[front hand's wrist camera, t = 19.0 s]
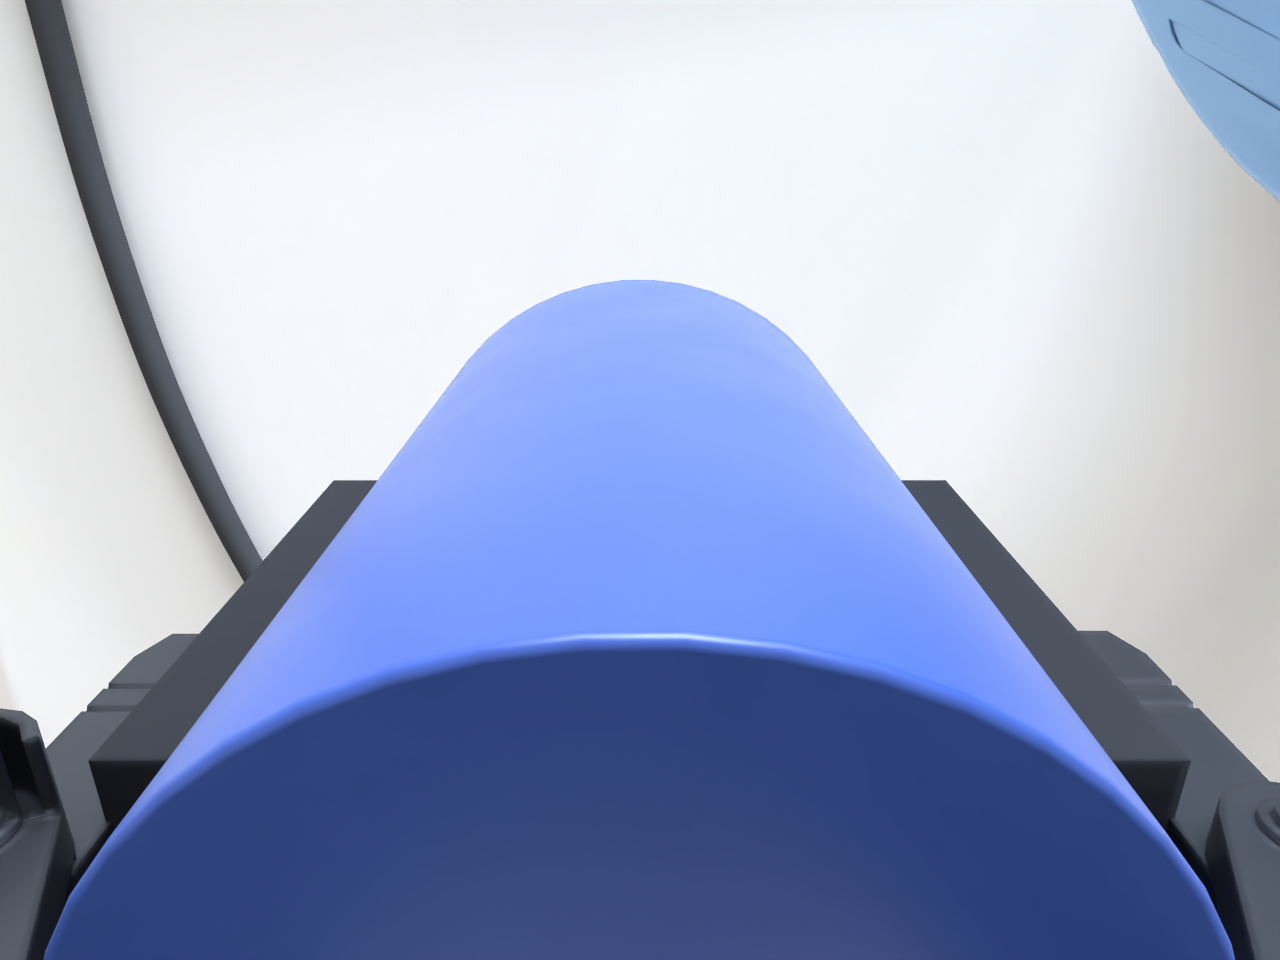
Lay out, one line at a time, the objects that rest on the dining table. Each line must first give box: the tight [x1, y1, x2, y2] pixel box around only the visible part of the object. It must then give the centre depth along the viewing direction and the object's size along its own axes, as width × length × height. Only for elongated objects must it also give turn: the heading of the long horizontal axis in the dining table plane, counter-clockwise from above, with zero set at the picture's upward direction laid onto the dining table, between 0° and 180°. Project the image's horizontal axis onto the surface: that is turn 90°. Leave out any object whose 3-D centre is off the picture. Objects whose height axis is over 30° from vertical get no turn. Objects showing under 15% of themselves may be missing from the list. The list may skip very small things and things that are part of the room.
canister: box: [43, 280, 1235, 960], centre depth 11 cm, size 8×8×12 cm
